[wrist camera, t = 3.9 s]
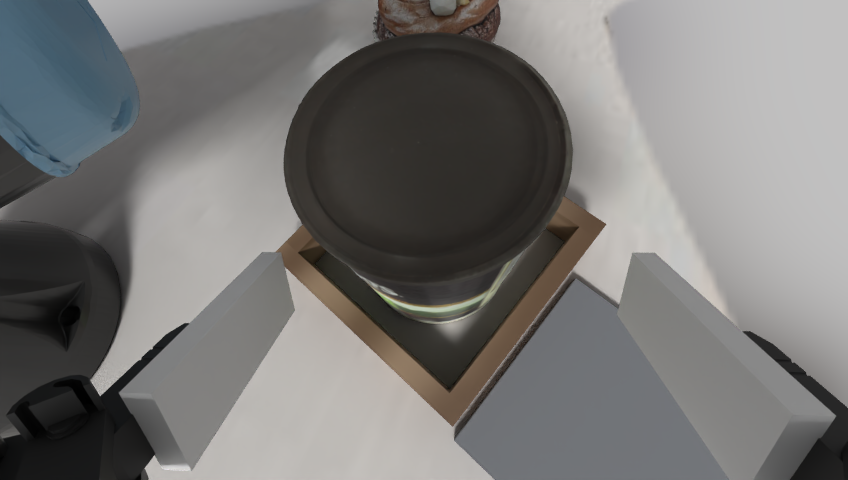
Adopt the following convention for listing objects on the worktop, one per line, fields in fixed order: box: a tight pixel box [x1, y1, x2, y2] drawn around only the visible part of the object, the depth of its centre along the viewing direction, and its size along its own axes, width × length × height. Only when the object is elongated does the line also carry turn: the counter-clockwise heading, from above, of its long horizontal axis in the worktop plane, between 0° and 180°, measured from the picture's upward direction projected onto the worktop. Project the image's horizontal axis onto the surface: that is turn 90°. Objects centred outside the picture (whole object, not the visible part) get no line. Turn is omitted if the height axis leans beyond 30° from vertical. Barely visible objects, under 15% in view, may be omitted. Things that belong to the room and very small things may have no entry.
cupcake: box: [373, 0, 501, 43], centre depth 27 cm, size 10×10×10 cm
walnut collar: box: [276, 197, 606, 426], centre depth 24 cm, size 15×15×3 cm
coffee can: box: [284, 32, 573, 324], centre depth 19 cm, size 10×10×14 cm
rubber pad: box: [454, 279, 729, 480], centre depth 21 cm, size 13×13×1 cm
